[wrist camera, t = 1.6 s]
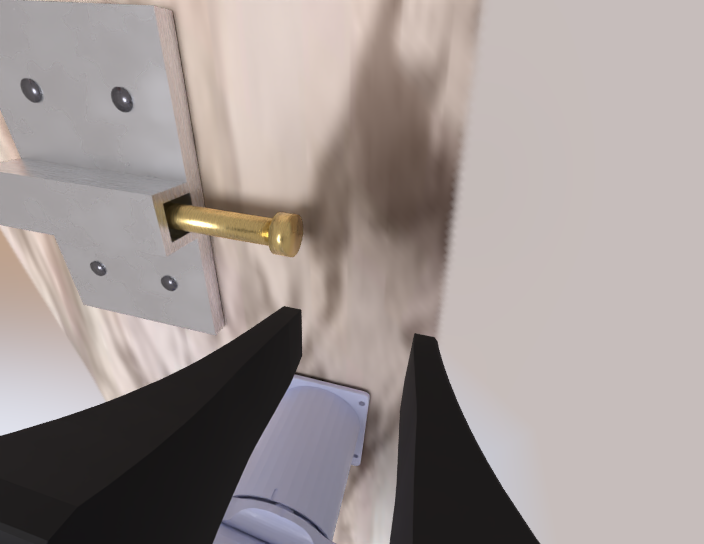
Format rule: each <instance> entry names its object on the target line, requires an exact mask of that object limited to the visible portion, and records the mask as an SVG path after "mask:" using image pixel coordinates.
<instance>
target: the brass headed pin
mask: <svg viewBox="0 0 704 544" xmlns="http://www.w3.org/2000/svg"><path fill="white" fill-rule="evenodd" d="M163 207H164V211H165V216H166V220H167V224H168V228H170V229H176V230H182V231H188V232H193V233H199V234H205V235H210V236H216V237H222V238H228V239H233V240H239V241H245V242H251V243H256V244H262V245H268V246H269V248H270V251H271V252H272V253H273V254H276V255H282V256H288V257H294V256H295V255H296V254H297V253H298V251H299V248H300V245H301V242H302V236H303V222H302V219H301V217H300V216H299V215H296V214H290V213H283V212H278V213H277V214H276V215H275V216H274V217H273V218H267V217H261V216H255V215H248V214H242V213H236V212H229V211H223V210H217V209H210V208H204V207H198V206H192V205H185V204H179V203H173V202H165V203H163Z"/></svg>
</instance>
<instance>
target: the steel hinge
mask: <svg viewBox="0 0 704 544" xmlns="http://www.w3.org/2000/svg"><path fill="white" fill-rule="evenodd" d="M0 110H1V112H2V115H3V117H4V119H5V122H6V124H7V126H8V129H9V131H10V133H11V136H12V138H13V140H14V143H15V145H16V147H17V150H18V152H19V154H20V157H21V159H15V160H9V161H3V162H0V225H3V226H8V227H14V228H19V229H24V230H29V231H34V232H40V233H45V234H50V235H54V236H55V239H56V241H57V243H58V246H59V248H60V250H61V253H62V255H63V257H64V260H65V262H66V264H67V267H68V269H69V271H70V274H71V276H72V278H73V281H74V283H75V285H76V288H77V290H78V292H79V295H80V297H81V300H82V302H83V304H84V305H88V306H92V307H96V308H100V309H105V310H109V311H113V312H118V313H122V314H126V315H130V316H135V317H139V318H143V319H148V320H152V321H156V322H160V323H165V324H169V325H173V326H178V327H182V328H186V329H190V330H195V331H199V332H203V333H208V334H212V335H217V333H218V332H219V331H220V330H221V329H222V328H223V327H224V326H225V324H224V318H223V312H222V306H221V300H220V294H219V288H218V282H217V276H216V270H215V264H214V258H213V252H212V246H211V240H210V235H205V234H199V233H193V232H188V231H182V230H176V229H170V228H168V224H167V220H166V216H165V211H164V207H163V203H165V202H173V203H179V204H185V205H192V206H198V207H204V208H205V204H204V198H203V192H202V186H201V180H200V174H199V168H198V162H197V156H196V150H195V144H194V138H193V132H192V126H191V120H190V114H189V108H188V102H187V96H186V90H185V84H184V78H183V72H182V66H181V60H180V54H179V48H178V42H177V36H176V30H175V24H174V18H173V12H172V11H171V10H168V9H164V8H161V7H157V6H153V5H127V4H102V3H77V2H52V1H26V0H0Z"/></svg>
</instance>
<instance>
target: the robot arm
mask: <svg viewBox="0 0 704 544" xmlns="http://www.w3.org/2000/svg"><path fill="white" fill-rule="evenodd" d="M301 357H302V316H301V310H300V309H295V308H290V307H286V306H284V307H282V308H281V309H279V310H278V311H276V312H275V313H273V314H272V315H270V316H269V317H267V318H266V319H264V320H263V321H261V322H260V323H258V324H257V325H255V326H254V327H253V328H251V329H250V330H248V331H246V332H245V333H243V334H242V335H240V336H239V337H237V338H236V339H234V340H233V341H231V342H229V343H228V344H226V345H224V346H223V347H221V348H219V349H218V350H216V351H214V352H213V353H211V354H209V355H207V356H206V357H204V358H202V359H200V360H199V361H197V362H195V363H193V364H191V365H189V366H187V367H185V368H183V369H181V370H179V371H177V372H175V373H173V374H171V375H169V376H167V377H165V378H163V379H161V380H159V381H156V382H154V383H151V384H149V385H147V386H144V387H142V388H140V389H137V390H135V391H133V392H130V393H128V394H126V395H123V396H121V397H118V398H116V399H113V400H110V401H108V402H105V403H103V404H100V405H97V406H94V407H91V408H89V409H86V410H83V411H80V412H77V413H74V414H71V415H68V416H65V417H62V418H59V419H56V420H53V421H49V422H46V423H43V424H39V425H36V426H33V427H29V428H26V429H23V430H20V431H16V432H13V433H10V434H6V435H2V436H0V544H336V543H334V542H332V540H333V536H334V532H335V527H336V523H337V519H338V515H339V511H340V507H341V503H342V499H343V495H344V491H345V487H346V483H347V479H348V475H349V471H350V467H351V465H354V466H358V465H360V462H361V456H362V449H363V442H364V435H365V428H366V420H367V413H368V406H369V399H370V396H369V394H368V393H367V392H365V391H361V390H357V389H353V388H349V387H345V386H340V385H336V384H332V383H328V382H324V381H320V380H316V379H312V378H308V377H304V376H300V375H296V374H295V372H296V370H297V367H298V365H299V362H300V360H301ZM390 544H540V543H539V541H538V540H537V539H536V537H535V536H534V534H533V533H532V531H531V530H530V528H529V527H528V525H527V524H526V522H525V521H524V519H523V518H522V516H521V515H520V513H519V512H518V510H517V508H516V507H515V506H514V504H513V502H512V501H511V499H510V498H509V496H508V495H507V493H506V492H505V490H504V489H503V487H502V485H501V484H500V482H499V480H498V479H497V477H496V475H495V474H494V472H493V470H492V469H491V467H490V465H489V463H488V462H487V460H486V458H485V456H484V454H483V453H482V451H481V449H480V447H479V445H478V443H477V442H476V440H475V438H474V436H473V434H472V432H471V430H470V428H469V426H468V423H467V421H466V419H465V417H464V415H463V413H462V411H461V409H460V406H459V404H458V402H457V399H456V397H455V394H454V392H453V389H452V387H451V384H450V382H449V379H448V376H447V374H446V371H445V368H444V365H443V361H442V358H441V355H440V351H439V347H438V342H437V340H436V339H435V337H430V336H425V335H420V334H416V333H415V334H414V338H413V343H412V348H411V352H410V357H409V362H408V367H407V371H406V376H405V381H404V388H403V395H402V401H401V408H400V423H399V444H398V465H397V485H396V497H395V506H394V514H393V522H392V529H391V537H390Z"/></svg>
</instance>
